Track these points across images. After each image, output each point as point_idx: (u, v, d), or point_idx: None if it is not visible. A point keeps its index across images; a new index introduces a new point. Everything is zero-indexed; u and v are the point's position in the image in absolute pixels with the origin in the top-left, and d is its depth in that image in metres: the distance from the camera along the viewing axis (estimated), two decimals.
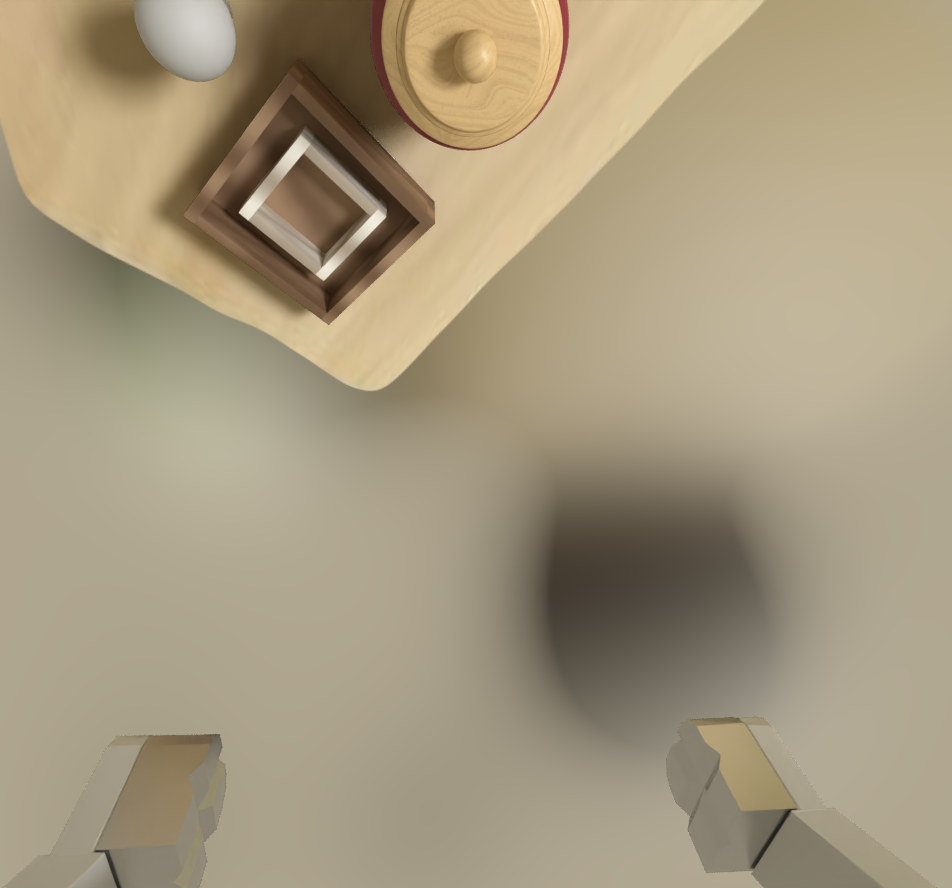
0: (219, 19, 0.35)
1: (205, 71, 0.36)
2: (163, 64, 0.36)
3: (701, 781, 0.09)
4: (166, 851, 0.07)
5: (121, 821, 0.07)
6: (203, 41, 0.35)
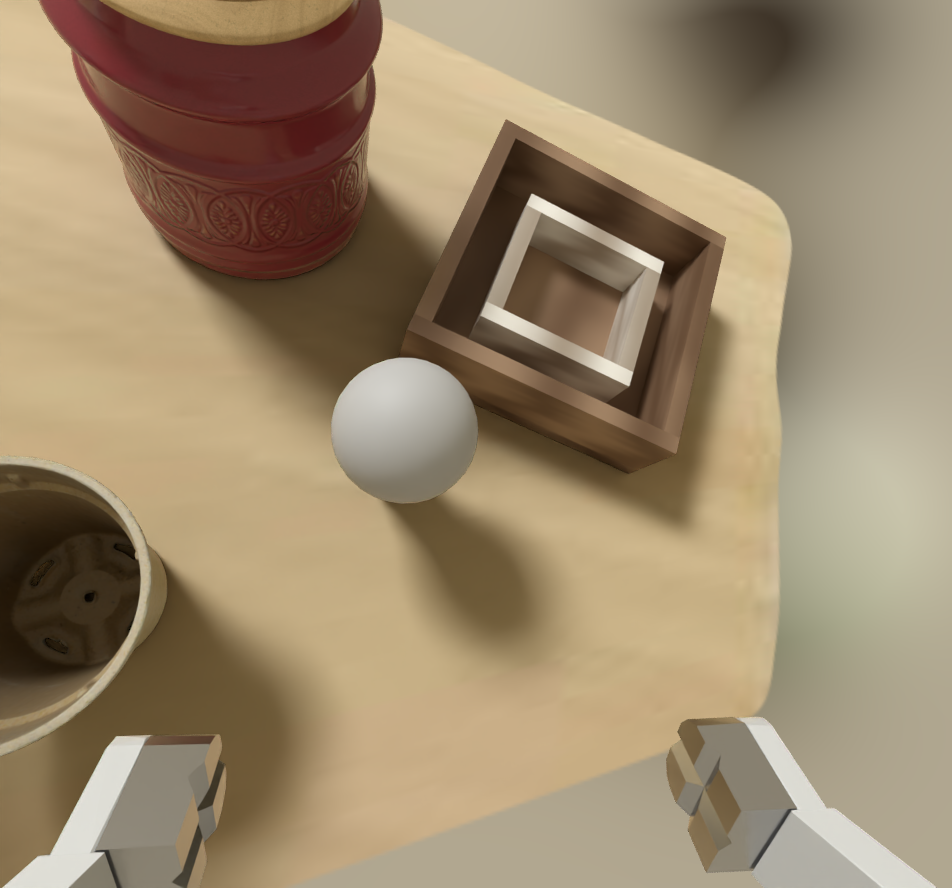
0: (367, 368, 0.21)
1: (448, 375, 0.22)
2: (469, 436, 0.21)
3: (701, 781, 0.09)
4: (166, 851, 0.07)
5: (121, 821, 0.07)
6: (405, 370, 0.20)
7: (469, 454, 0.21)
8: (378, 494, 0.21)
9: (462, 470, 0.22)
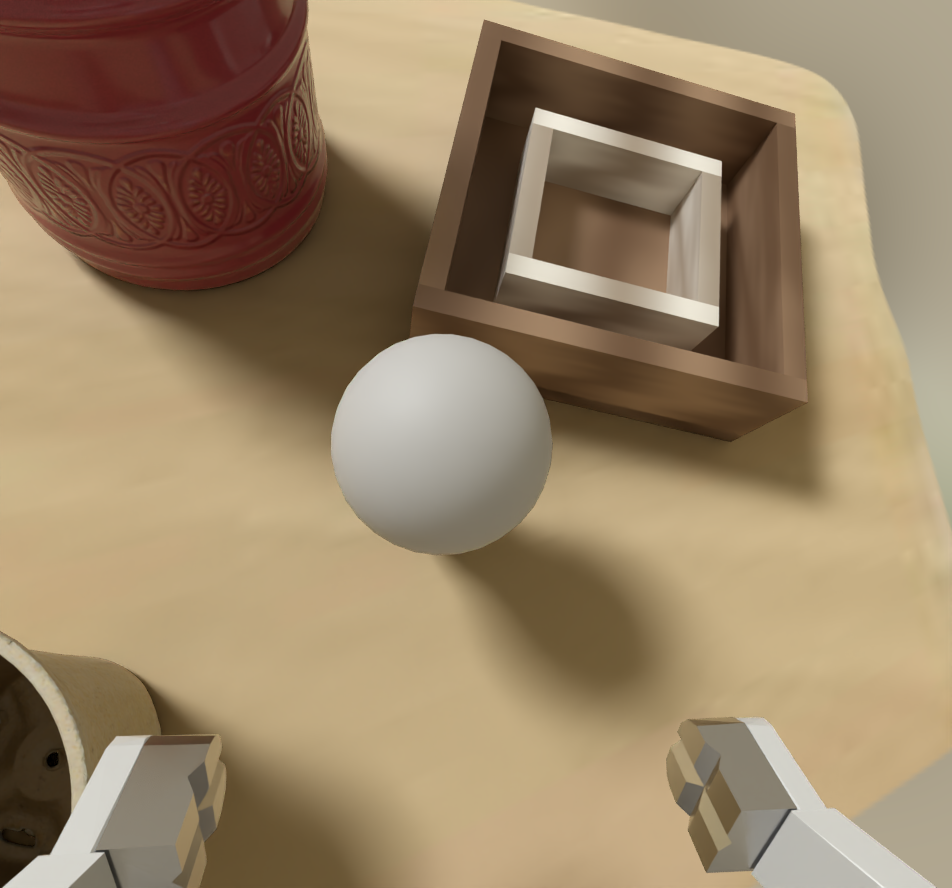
0: (368, 362, 0.14)
1: (492, 347, 0.14)
2: (543, 433, 0.14)
3: (701, 781, 0.09)
4: (166, 851, 0.07)
5: (121, 821, 0.07)
6: (426, 351, 0.13)
7: (547, 461, 0.14)
8: (422, 549, 0.14)
9: (541, 487, 0.14)
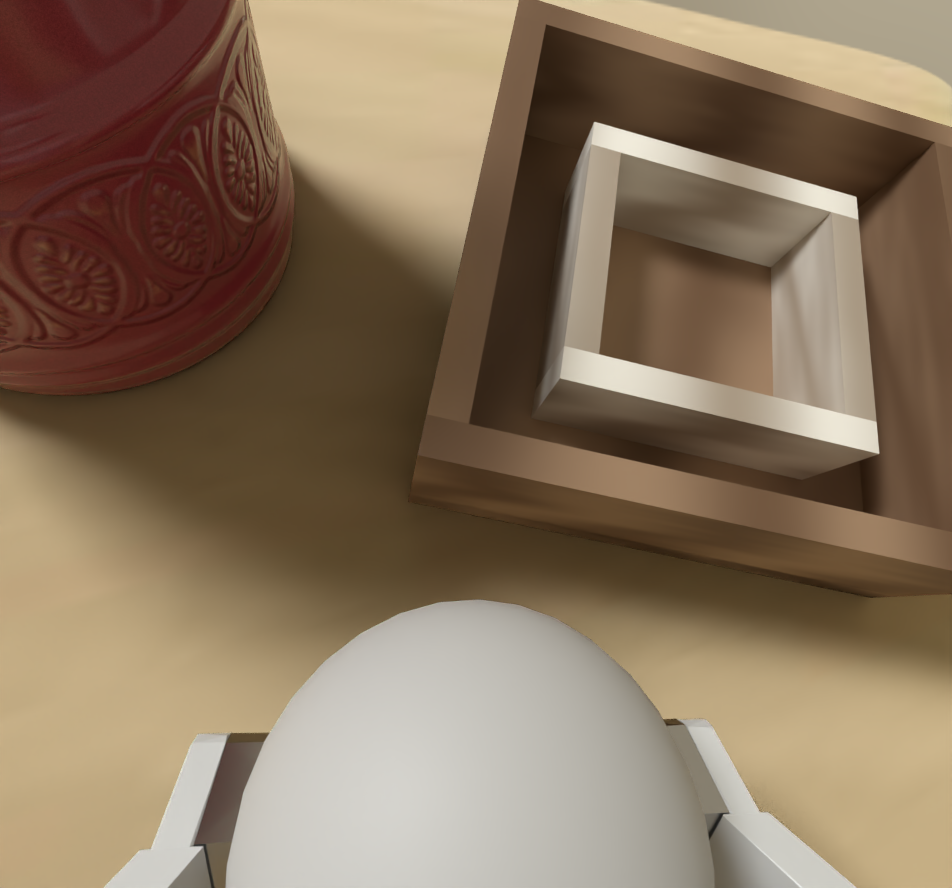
0: (307, 707, 0.06)
1: (581, 676, 0.06)
2: None
3: None
4: None
5: (215, 816, 0.07)
6: (433, 750, 0.05)
7: None
8: None
9: None
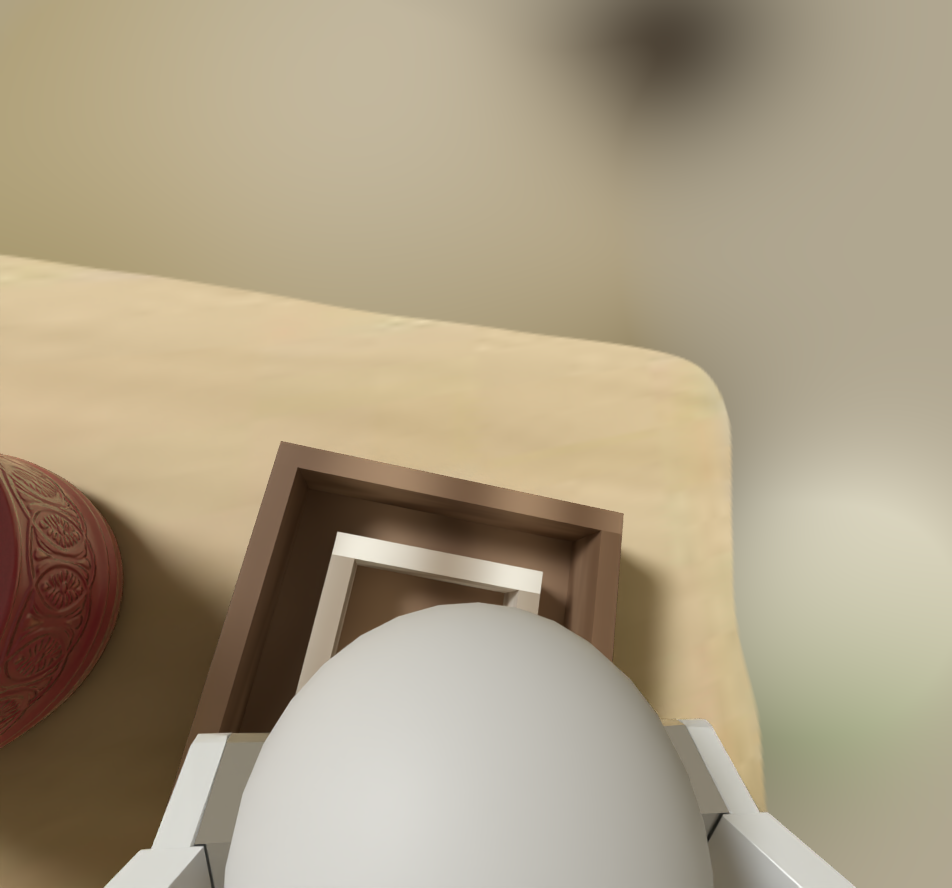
0: (306, 711, 0.06)
1: (579, 679, 0.06)
2: None
3: None
4: None
5: (215, 816, 0.07)
6: (430, 756, 0.05)
7: None
8: None
9: None
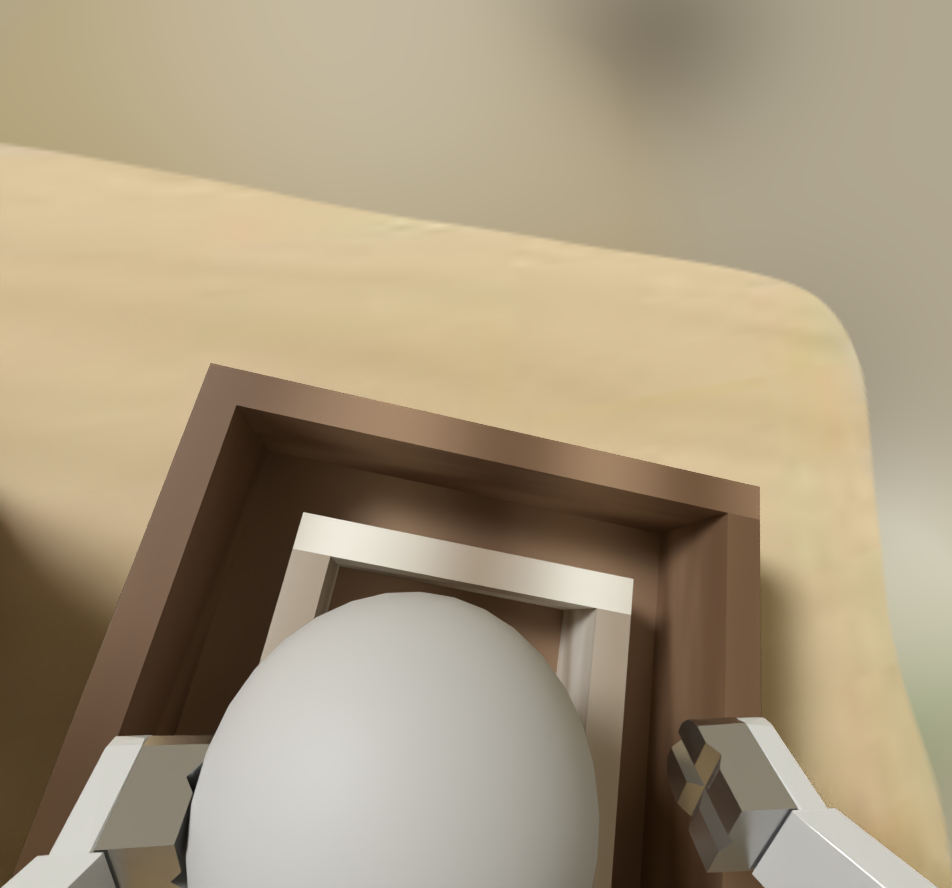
0: (266, 672, 0.08)
1: (494, 651, 0.08)
2: (588, 842, 0.07)
3: (702, 781, 0.09)
4: (165, 851, 0.07)
5: (120, 821, 0.07)
6: (364, 702, 0.07)
7: (593, 876, 0.07)
8: None
9: None
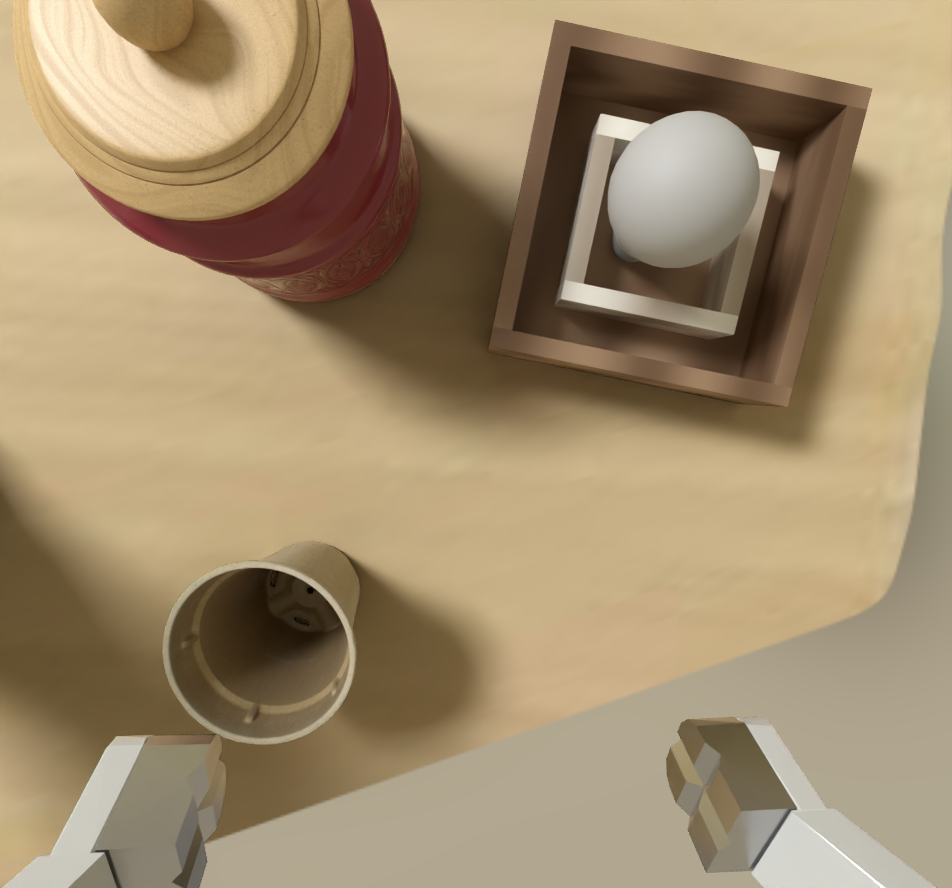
0: (642, 134, 0.22)
1: (729, 121, 0.21)
2: (756, 185, 0.21)
3: (701, 781, 0.09)
4: (166, 851, 0.07)
5: (121, 821, 0.07)
6: (689, 127, 0.20)
7: (754, 204, 0.22)
8: (664, 262, 0.23)
9: None
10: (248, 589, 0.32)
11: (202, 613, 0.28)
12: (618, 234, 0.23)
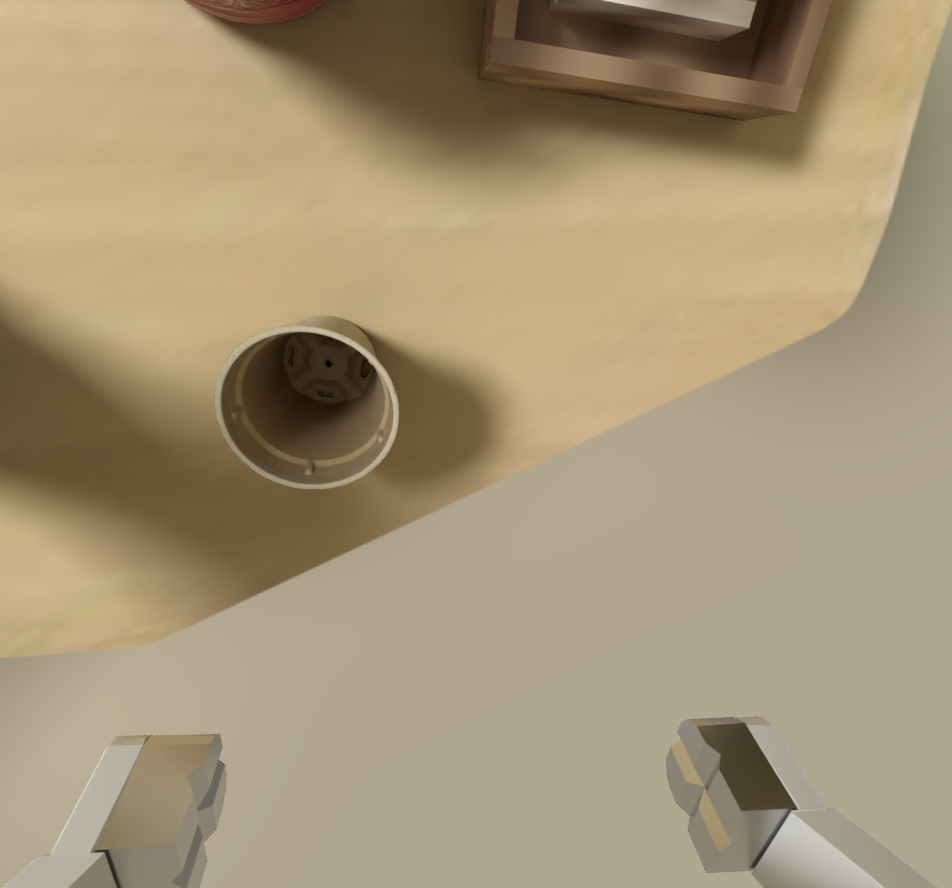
0: None
1: None
2: None
3: (701, 781, 0.09)
4: (166, 851, 0.07)
5: (121, 821, 0.07)
6: None
7: None
8: None
9: None
10: (271, 367, 0.33)
11: (241, 387, 0.29)
12: None
